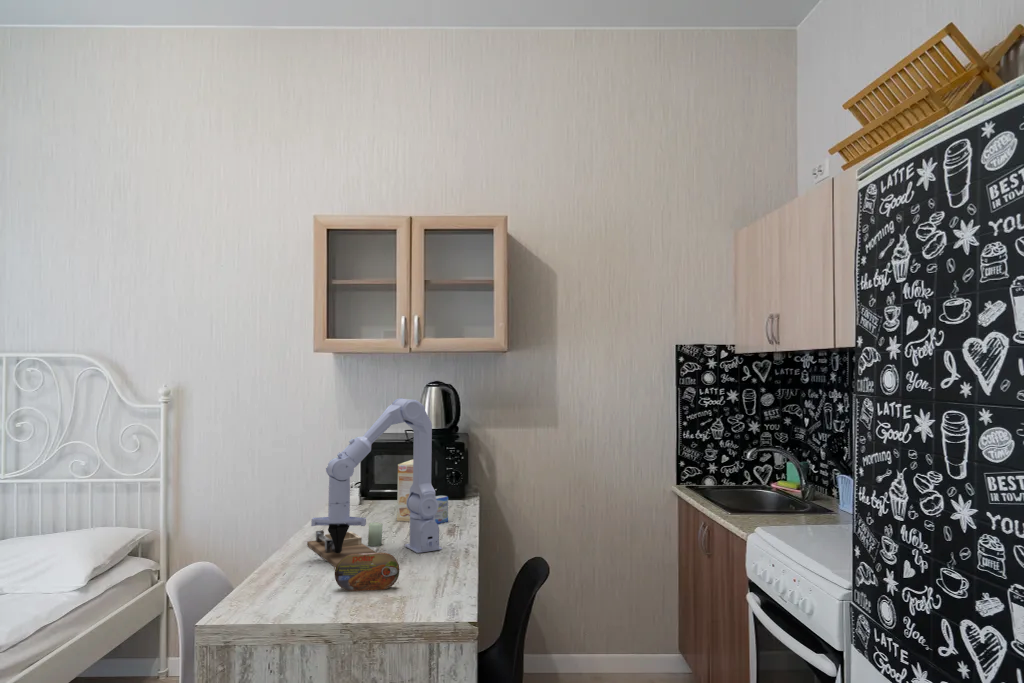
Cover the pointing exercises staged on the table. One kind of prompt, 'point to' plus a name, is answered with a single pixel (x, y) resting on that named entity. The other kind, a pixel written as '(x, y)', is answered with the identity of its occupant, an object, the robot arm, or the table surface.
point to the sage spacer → (375, 534)
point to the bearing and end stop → (327, 542)
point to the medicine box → (442, 509)
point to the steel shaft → (326, 539)
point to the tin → (367, 572)
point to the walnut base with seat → (349, 546)
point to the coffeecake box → (404, 489)
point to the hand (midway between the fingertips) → (338, 552)
